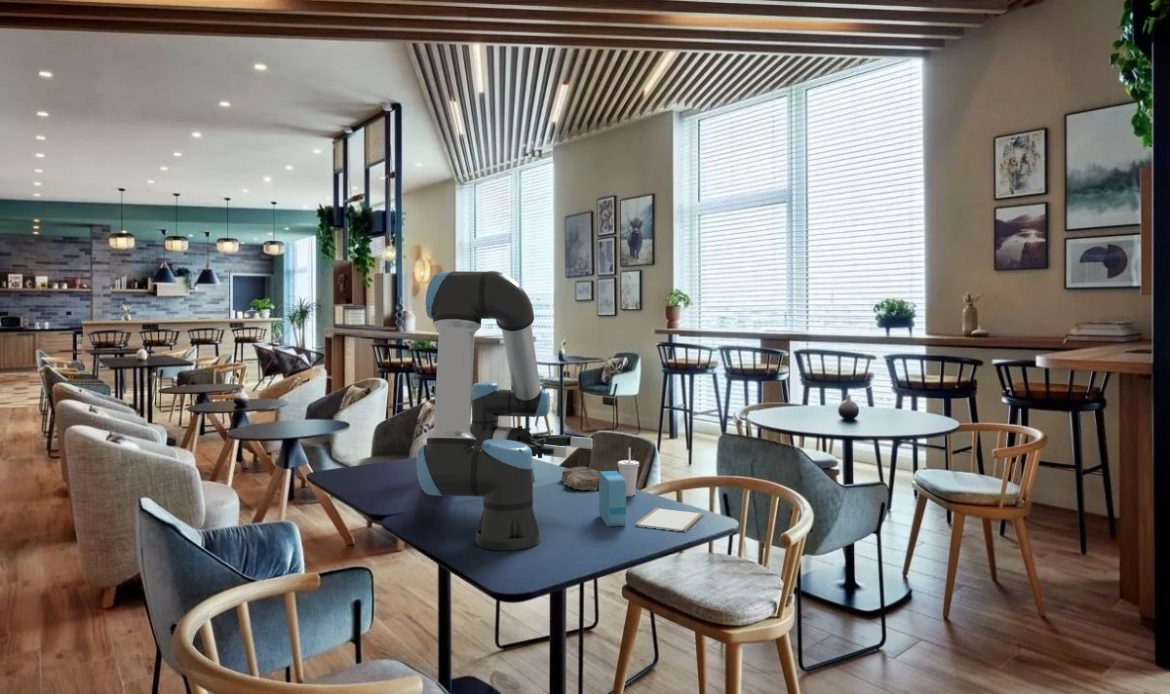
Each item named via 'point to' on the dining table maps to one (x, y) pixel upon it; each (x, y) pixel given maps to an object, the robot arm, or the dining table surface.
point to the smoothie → (629, 474)
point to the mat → (669, 519)
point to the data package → (612, 498)
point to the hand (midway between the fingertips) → (579, 447)
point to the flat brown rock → (581, 478)
